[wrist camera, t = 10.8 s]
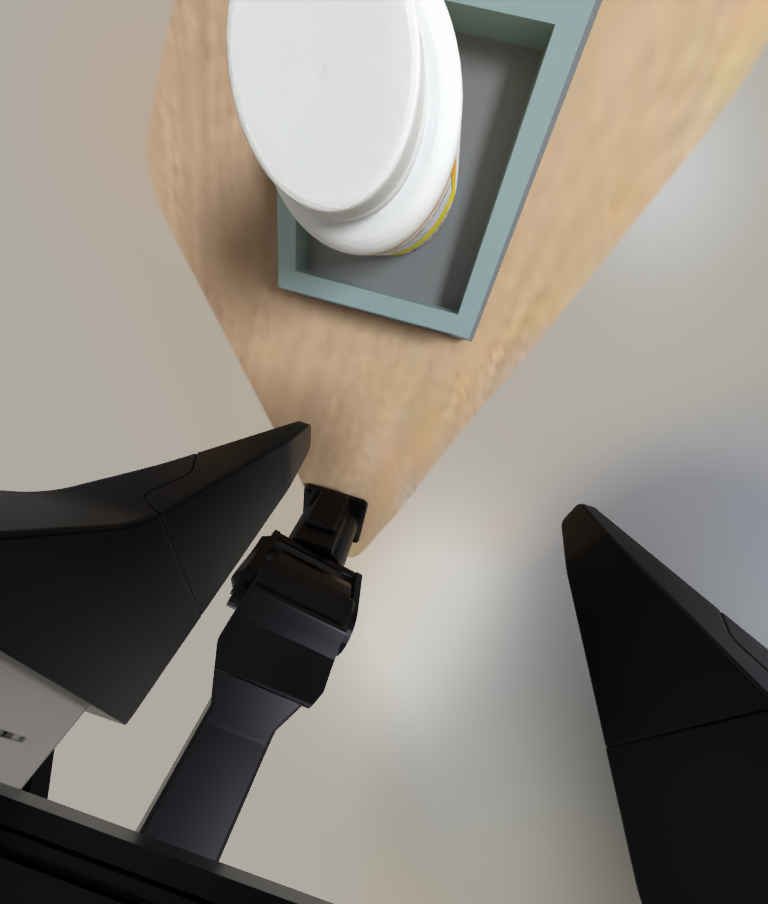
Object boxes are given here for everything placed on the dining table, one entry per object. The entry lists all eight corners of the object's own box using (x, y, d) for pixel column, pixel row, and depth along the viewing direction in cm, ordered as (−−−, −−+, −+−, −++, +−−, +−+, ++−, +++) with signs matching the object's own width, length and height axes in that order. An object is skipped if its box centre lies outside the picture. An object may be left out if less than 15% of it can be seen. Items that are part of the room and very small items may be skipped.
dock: (470, 337, 18) (473, 347, 16) (291, 289, 18) (272, 293, 16) (592, 14, 11) (625, -43, 9) (294, -50, 11) (259, -118, 9)
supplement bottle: (349, 89, 12) (135, -262, 4) (475, 109, 12) (529, -237, 4) (341, 246, 15) (215, 232, 7) (439, 265, 15) (425, 274, 7)
